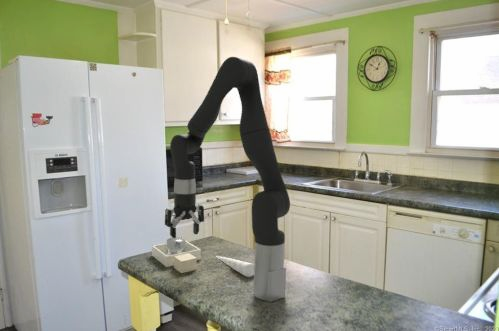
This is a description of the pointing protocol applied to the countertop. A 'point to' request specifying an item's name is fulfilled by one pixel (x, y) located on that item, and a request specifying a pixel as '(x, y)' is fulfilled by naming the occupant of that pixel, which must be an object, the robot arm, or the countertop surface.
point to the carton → (185, 263)
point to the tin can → (175, 246)
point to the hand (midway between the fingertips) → (184, 235)
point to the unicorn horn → (239, 266)
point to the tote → (161, 254)
